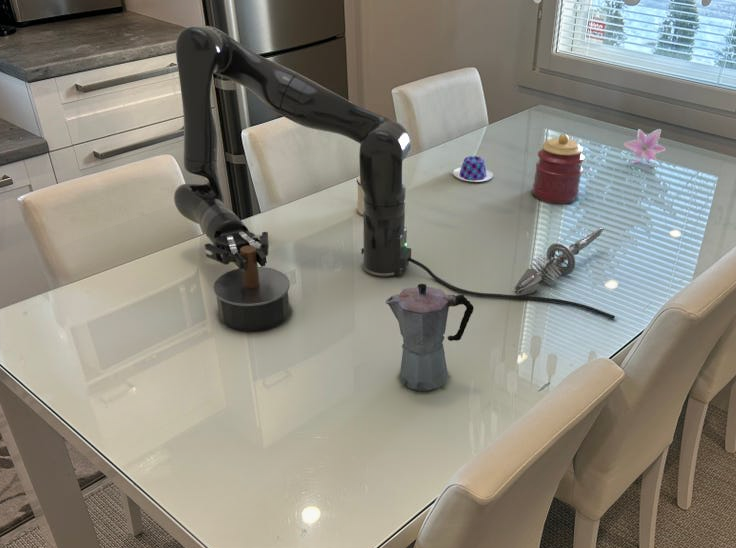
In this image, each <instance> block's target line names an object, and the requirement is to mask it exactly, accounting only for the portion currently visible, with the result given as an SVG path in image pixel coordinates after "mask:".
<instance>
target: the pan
mask: <svg viewBox="0 0 736 548" xmlns="http://www.w3.org/2000/svg"><path fill="white" fill-rule="evenodd" d="M216 301H217V309H218V316H219V318H220V320H221V323H222V324H223V325H224V326H226V327H227V328H229V329H231V330H234V331H237V332H242V333H261V332H265V331H269V330H272V329H274V328H277V327H279V326H281V325H282V324H284V323H285V322H286V320H287V319H288V318H289V315H290V301H289V291H288V292H287V293H286V294H285V295H284V296H283V297H281V298H280V299H278V300H276V301H273V302H271V303H267V304H263V305H258V306H238V305H233V304H229V303H226V302H224V301H222V300H220V299H219V298H218V297H217V296H216Z"/></svg>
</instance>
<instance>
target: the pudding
mask: <svg viewBox="0 0 736 548" xmlns="http://www.w3.org/2000/svg"><path fill="white" fill-rule="evenodd" d="M452 175H453V176H454V177H456V178H457V179H459V180H462V181H466V182H473V183H474V182H475V183H478V182H486V181H489V180H491V179H492V178H493V177H494V173H493V172H492V170H489V169H487V168H486V163H485V160H484V159H483V158H482V157H480V156H476V155H469V156H467V157H465V158H464V159H463V161H462V165H461V166H460V167H456V168H454V170H452Z"/></svg>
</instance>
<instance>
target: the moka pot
mask: <svg viewBox="0 0 736 548" xmlns="http://www.w3.org/2000/svg"><path fill="white" fill-rule="evenodd" d="M384 302H385V304H386V305H388V307H389V308H390V310H391V311H392V313H393V315H394V317H395V318H396V320H397V322H398V326H399V331H400V332H399V333H400V335H401V337H402V344H401V348H402V353H401V361H400V362H401V363H400V371H399V378H400V381H401V383H402V384H403V385H404V386H405V387H407V388H408V389H411V390H414V391H419V392H424V391H432V390H436V389H438V388H440V387H442V386H443V385H444V384H445V383H446V382H447V380H448V377H449V372H448V365H447V360H446V353H445V348H444V343H443V342H444V340H445V336H444V335H445V334H446V329H447V322H448V316H449V308H450V307H454V308H455V307H457V306H459V305H464V307H465V310H464V313H463V316H462V318H461V321H460V325H459V327H458V330H457V331H456V334H454V335H448V336H447V340H448V341H449V342H453V341H460V340H461V339H462V338H463V335H464V334H465V330H466V329H467V325H468V323H469V321H470V318H471V316H472V314H473V313H474V305H473V304H472V303H471V301H470V300H468V299H467V297H465V294H457V295H455V294H446V293H445V292H444V291H443V290H442V289H441V288H437V287H433V286H429V285H427V284H425V283H419V284H418V285H417V286H412V287H408V288H403V289H402V290H401V291H400V292H399V293H397V294H394V295H390V296H389V297H387V299H385V301H384Z"/></svg>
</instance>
